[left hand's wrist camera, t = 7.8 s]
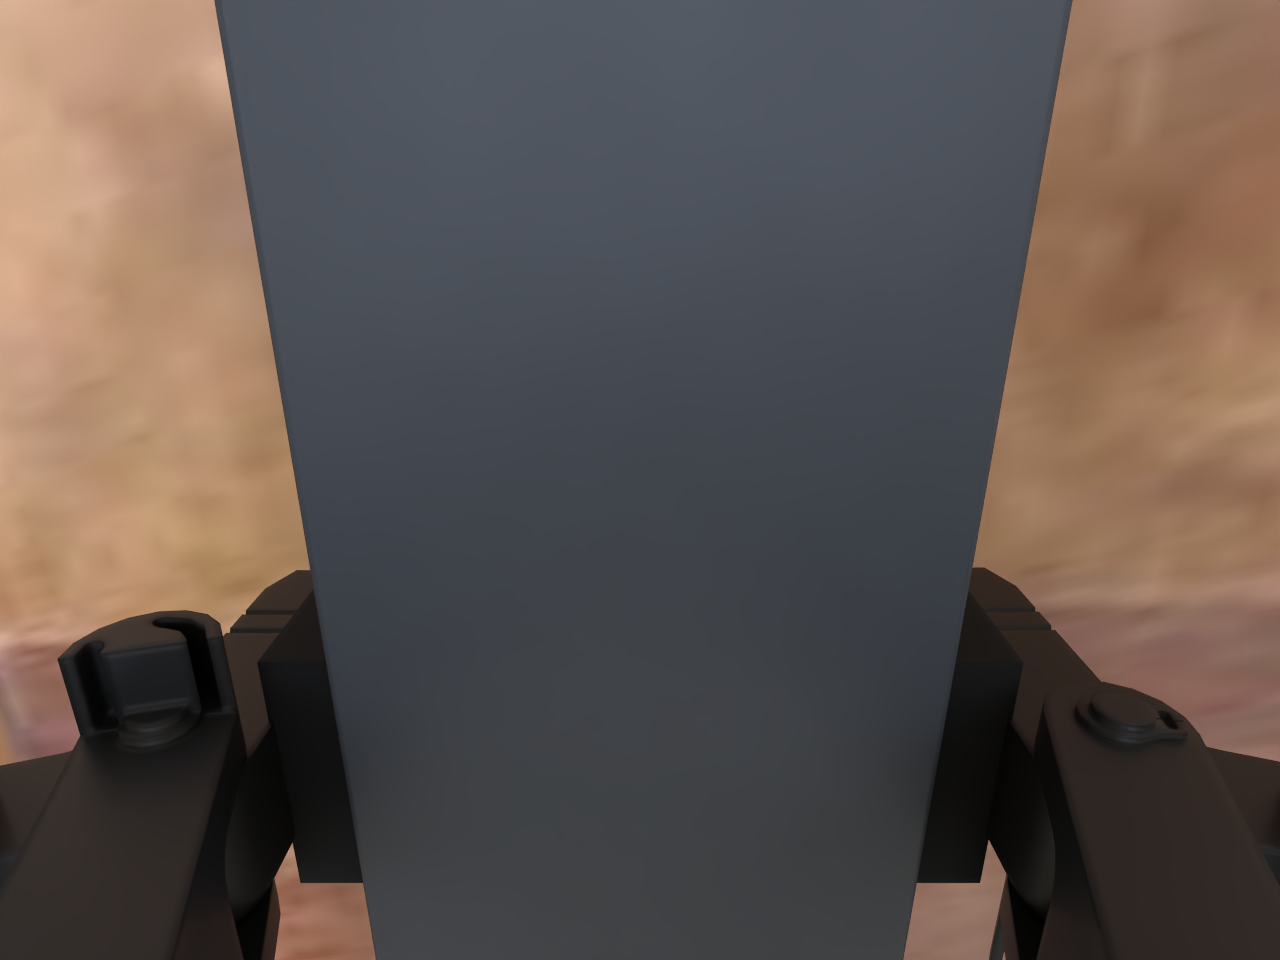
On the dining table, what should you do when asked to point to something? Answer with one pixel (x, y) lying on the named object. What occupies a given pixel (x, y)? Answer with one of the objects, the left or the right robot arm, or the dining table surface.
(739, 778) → the beam
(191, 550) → the dining table surface
